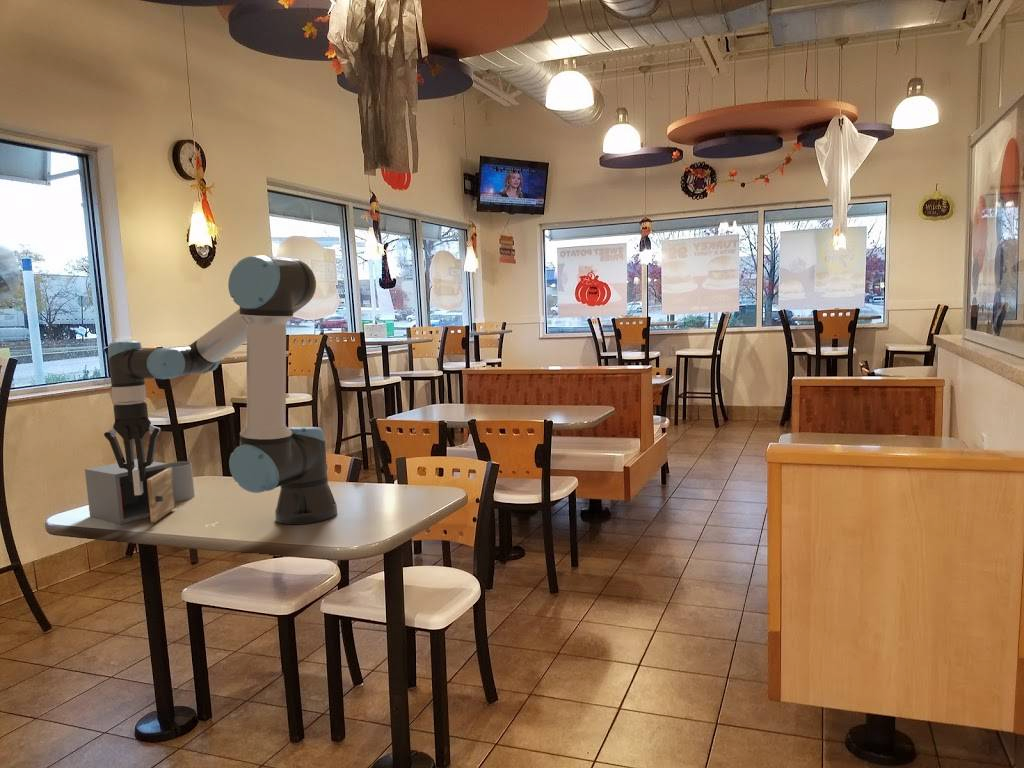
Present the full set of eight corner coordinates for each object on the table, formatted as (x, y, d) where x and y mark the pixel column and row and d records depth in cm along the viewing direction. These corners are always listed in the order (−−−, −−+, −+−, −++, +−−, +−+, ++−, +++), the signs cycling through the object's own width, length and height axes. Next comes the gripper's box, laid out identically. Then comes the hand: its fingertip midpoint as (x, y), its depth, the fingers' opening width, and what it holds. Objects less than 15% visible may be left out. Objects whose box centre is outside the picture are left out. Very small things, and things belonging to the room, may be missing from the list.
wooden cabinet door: (181, 506, 199) (177, 467, 198) (160, 521, 185) (156, 479, 184) (171, 507, 199) (167, 467, 197) (150, 522, 184) (146, 479, 183)
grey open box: (172, 510, 199) (167, 463, 197) (120, 524, 187) (114, 474, 186) (141, 503, 208) (136, 459, 206) (89, 516, 196) (84, 469, 195)
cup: (200, 495, 215) (197, 462, 214) (177, 502, 207) (174, 468, 206) (180, 493, 218) (176, 460, 217) (156, 500, 211) (153, 466, 210)
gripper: (161, 399, 190) (169, 488, 192) (105, 402, 186) (114, 493, 189) (154, 402, 182) (163, 494, 185) (97, 406, 179) (106, 500, 181)
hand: (139, 493), depth 187 cm, fingers closed
